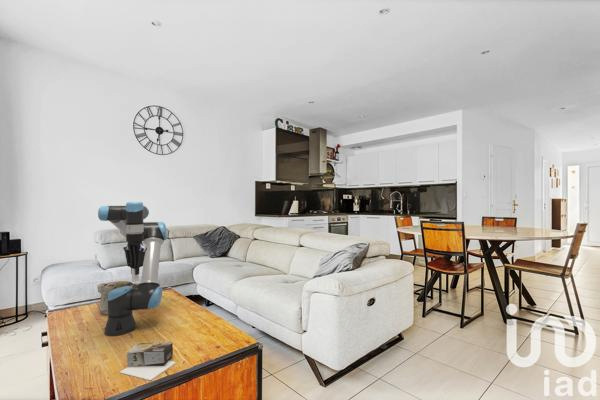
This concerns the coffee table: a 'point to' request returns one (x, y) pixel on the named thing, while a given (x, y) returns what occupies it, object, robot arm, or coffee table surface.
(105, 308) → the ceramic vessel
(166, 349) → the coffee box
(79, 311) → the coffee table surface
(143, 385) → the coffee table surface
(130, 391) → the coffee table surface
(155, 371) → the mat
